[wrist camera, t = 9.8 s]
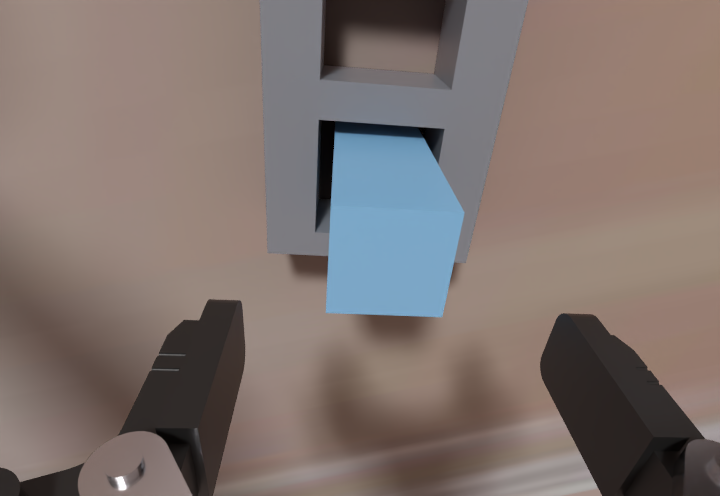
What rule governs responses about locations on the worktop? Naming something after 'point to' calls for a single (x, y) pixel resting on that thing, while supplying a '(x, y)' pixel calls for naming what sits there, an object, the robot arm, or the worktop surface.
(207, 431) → the robot arm
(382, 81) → the panel
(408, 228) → the plug
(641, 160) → the worktop surface
